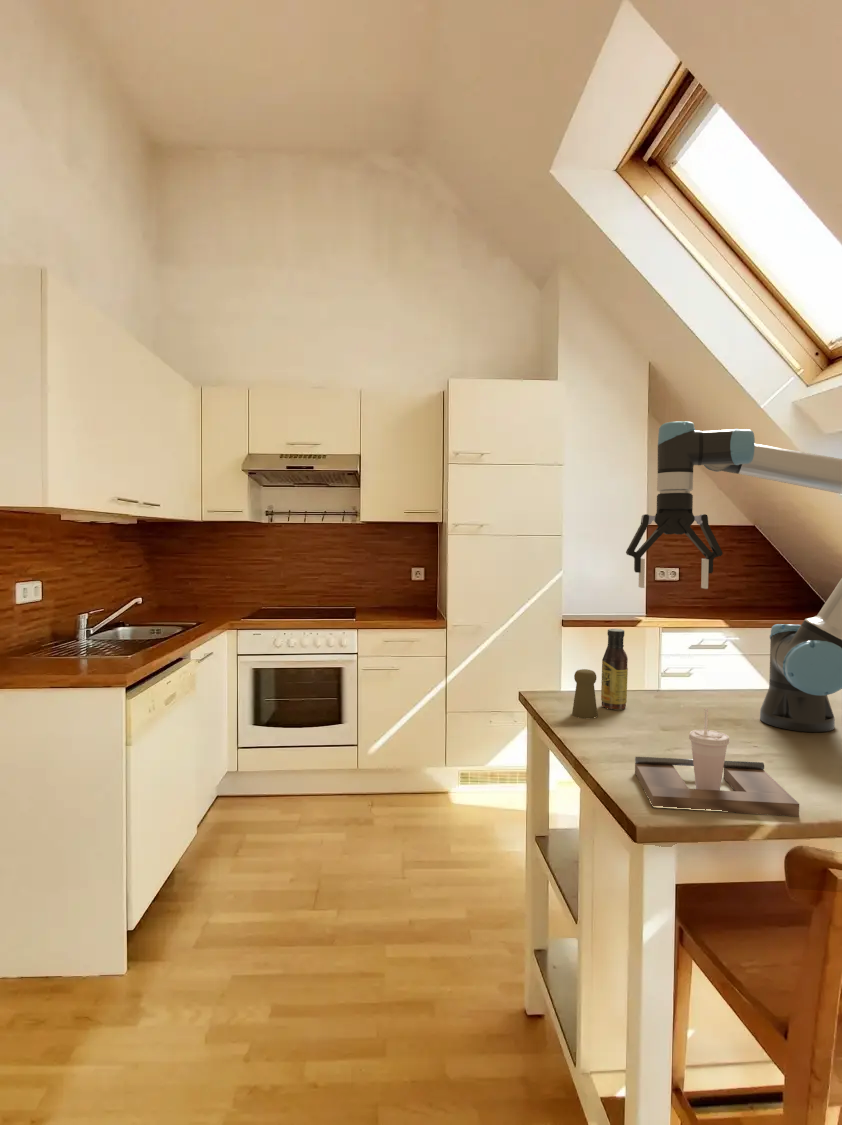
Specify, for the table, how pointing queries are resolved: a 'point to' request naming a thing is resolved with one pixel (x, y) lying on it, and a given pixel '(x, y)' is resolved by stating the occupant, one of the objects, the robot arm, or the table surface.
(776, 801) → the slot board
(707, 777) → the smoothie
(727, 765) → the hook bar
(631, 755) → the table surface
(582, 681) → the cork
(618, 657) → the sauce bottle
